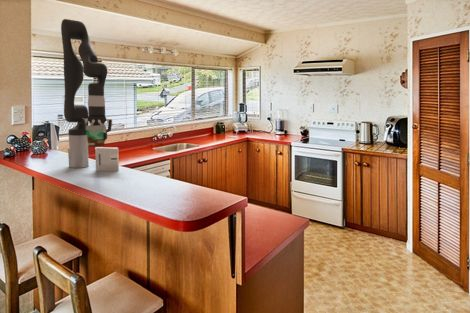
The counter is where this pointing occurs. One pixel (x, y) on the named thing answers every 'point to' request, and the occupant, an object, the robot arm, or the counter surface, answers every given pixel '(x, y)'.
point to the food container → (95, 135)
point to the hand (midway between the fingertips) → (97, 140)
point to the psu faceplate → (107, 159)
